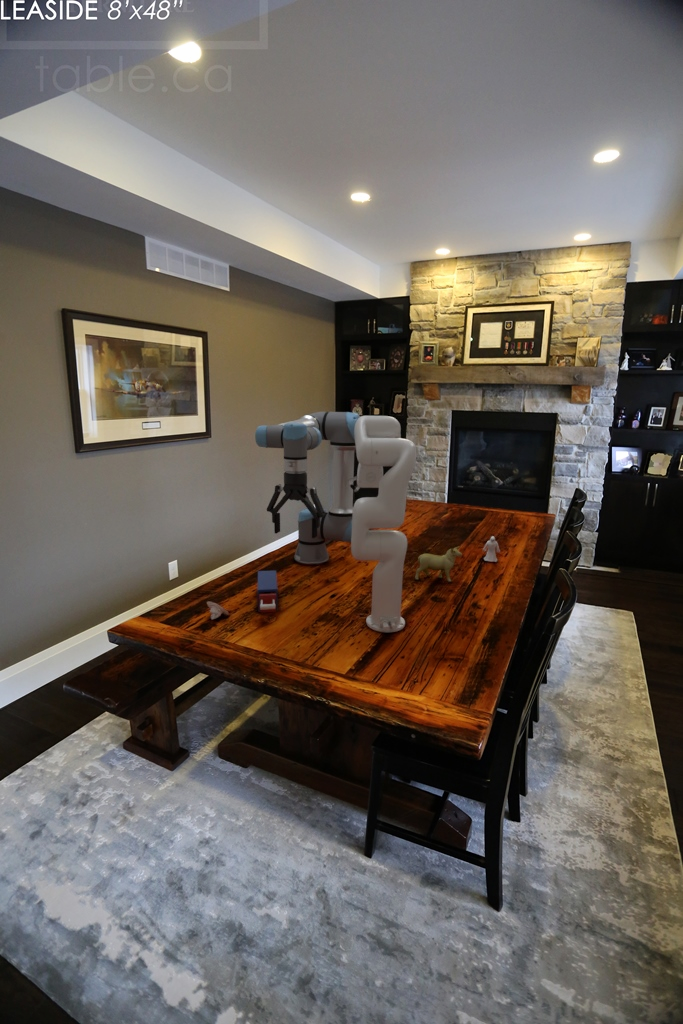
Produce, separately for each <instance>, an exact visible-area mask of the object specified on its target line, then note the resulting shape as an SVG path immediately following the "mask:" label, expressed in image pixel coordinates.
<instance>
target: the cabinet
mask: <svg viewBox="0 0 683 1024" xmlns="http://www.w3.org/2000/svg"><path fill="white" fill-rule="evenodd" d="M256 586H257V587H256V588H257V589H256V590H257V591H256V592H257V594H256V595H257V612H258V613H260V609H259V594H262V592H273V594H275V593H276V612H278V610H279V607H278V606H279V604H278V603H279V602H278V576H277V570H257V585H256Z"/></svg>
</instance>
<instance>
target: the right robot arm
mask: <svg viewBox="0 0 683 1024" xmlns="http://www.w3.org/2000/svg"><path fill="white" fill-rule="evenodd" d="M401 430H402V428H401V423H400V422H399V421H398V419H396V417H393V416H388V415H361V416H360V417H359V418H358V420H357V421H356V423H355V428H354V437H355V445H356V449H355V453H356V458H357V462H358V465H357V470H356V471H357V472H356V473H357V474H356V475H355V476H353V478H351V479H349V480H348V483H349V485H350V487H351V488H352V489H353V500H355V501H354V503H353V515H352V535H351V542H350V552H351V556H352V558H353V559H354V560H356V561H360V562H361V561H362V562H370V561H371V562H375V561H377V562H378V563H377V564H376V566H374V569H373V571H372V585H371V586H372V587H371V607H370V609H371V613H370V615H368V616H367V617H366V621H365V622H366V623H365V624H366V625H367V627H368V628H369V629H372V630H373V631H376V632H379V633H396V632H398V631H402V630H403V629H404V628H405V626H406V620H405V618H403V617H402V615H401V614H402V599H403V598H402V597H403V580H404V578H403V577H404V567H405V559H406V554H407V551H408V538H407V536H406V534H405V533H404V532H402V531H401V530H396V529H397V528H400V527H402V526H403V524H404V522H405V518H406V507H407V496H408V486H409V483H410V479H411V478H412V475H413V473H414V470H415V466H416V462H417V447H416V445H415V443H414V442H413V441H412V440H410V439H407V438H402V434H401ZM384 467H391V468H389V469H388V470H387V471H386V472H385V474H384ZM352 482H353V484H352ZM354 482H356V485H354ZM360 489H378V494H377V496H371V497H370V496H365V497H360V498H359V494H360V493H359V490H360Z"/></svg>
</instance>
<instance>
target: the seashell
mask: <svg viewBox="0 0 683 1024" xmlns="http://www.w3.org/2000/svg"><path fill="white" fill-rule="evenodd" d="M206 605H207V607H208V608H209V614H211V615H210V619H211V620H216V619H218V618H219V617H221V615H227V616H230V613H229V610H227V609H226V608H225V607H223V606H221V605H220V604H218V603H217V602H213V601H208V600H207V601H206Z"/></svg>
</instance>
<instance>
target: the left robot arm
mask: <svg viewBox="0 0 683 1024" xmlns="http://www.w3.org/2000/svg"><path fill="white" fill-rule="evenodd" d="M359 417H361V416H360V414H358V413H357V412H350V411H318V412H313V413H308V414H305V415H302V416H301V417H300V418H298V419H295V420H291V421H287V422H282V423H278V424H274V425H267V424H265V425H259V426H258V427H257V428H256V429H255V433H254V440H255V443H256V445H257V446H258V447H259V448H265V449H283V471H284V473H283V485H282V484H280V483H279V484H276V485H275V486H274V492H273V494H272V497H271V499H270V501H269V503H268V505H267V507H266V512H269V513H271V523H272V524H274V526H273V528H274V534H278V533H280V532H281V513H280V512H279V511H280V510H281V508H282V507H283V506H284V505H285V504H286V502H288V500H290V501H297V502H299V501H300V502H301V503H303V504H304V506H305V509H302V510H300V511H299V513H298V518H297V519H298V520H297V524H298V527H297V528H298V531H297V534H298V541H297V542H298V544H297V546H296V550H295V553H294V557H293V558H294V562H295V563H297V564H299V565H302V566H321V565H325V564H327V563H328V562H329V560H330V555H329V552H328V549H327V545H328V544H330V543H331V542H332V541H337V542H342V543H351V535H352V515H353V507H354V503H353V502H354V490H353V489H352V488H351V487H350V485H349V483H348V480H349V479H351V478H353V477H355V476H354V475H355V472H354V471H355V451H356V445H355V437H354V428H355V423H356V421H357V420H358V418H359ZM322 441H329V446H330V447H331V448H332V450H333V459H332V460H333V462H332V501H331V502H332V503H331V504H332V505H331V507H330V508H328V511H327V510H326V508H325V507H323V505H322V503H321V500H320V497H319V496H318V493H317V492H318V491H317V487H308V473H307V471H308V451H311V450H314V449H316V448H318V447H319V446H321V443H322ZM352 484H353V485H354V481H353V482H352ZM282 492H284V493H285V494H284V495H283V496H282V497H281V499H280V501H279V502H278V499H279V497H280V495H281V493H282ZM307 494H308V495H309V496H310V498H311V499H310V498H309V496H308V495H307ZM311 501H312V502H311ZM277 502H278V503H277ZM276 503H277V504H276ZM326 511H327V512H326ZM326 540H327V541H326Z"/></svg>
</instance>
